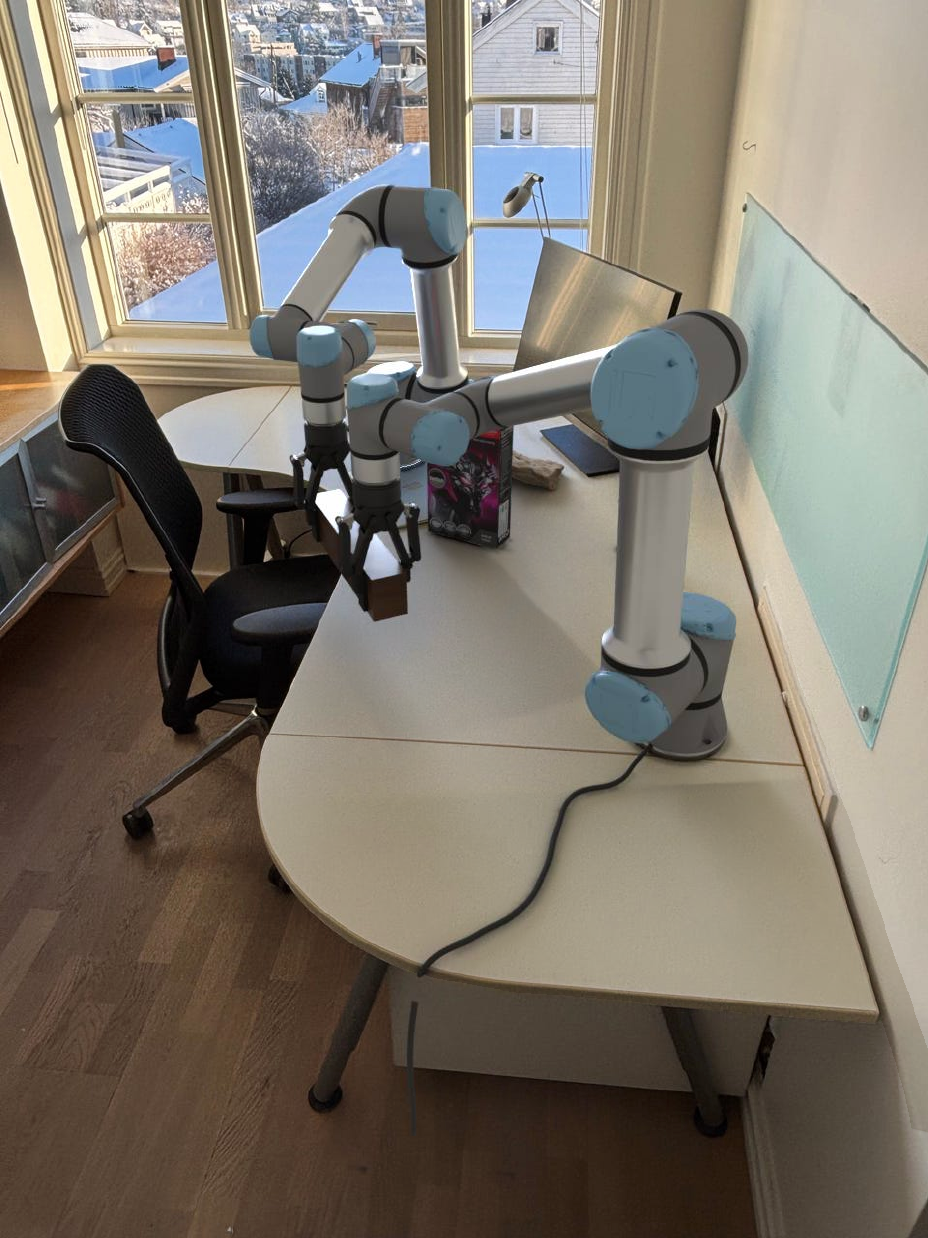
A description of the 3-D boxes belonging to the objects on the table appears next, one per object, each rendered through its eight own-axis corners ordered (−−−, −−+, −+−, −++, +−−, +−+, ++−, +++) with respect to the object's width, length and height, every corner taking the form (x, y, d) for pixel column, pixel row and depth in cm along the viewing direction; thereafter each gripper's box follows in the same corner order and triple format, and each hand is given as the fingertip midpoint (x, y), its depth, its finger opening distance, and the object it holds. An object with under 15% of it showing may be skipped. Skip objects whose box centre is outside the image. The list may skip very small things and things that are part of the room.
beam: (408, 614, 153) (406, 572, 148) (374, 622, 151) (371, 580, 146) (343, 526, 178) (340, 488, 174) (313, 532, 176) (309, 494, 172)
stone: (462, 471, 213) (468, 446, 211) (478, 460, 226) (484, 436, 224) (548, 498, 210) (555, 473, 207) (560, 485, 223) (567, 461, 221)
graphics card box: (425, 532, 195) (422, 409, 180) (440, 519, 200) (440, 398, 185) (497, 552, 189) (501, 426, 173) (511, 537, 194) (517, 414, 179)
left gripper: (368, 403, 167) (374, 517, 180) (265, 419, 161) (279, 536, 174) (383, 418, 162) (388, 533, 175) (277, 435, 155) (290, 554, 168)
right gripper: (424, 457, 148) (426, 580, 160) (309, 477, 141) (321, 604, 154) (442, 475, 142) (443, 601, 155) (323, 497, 135) (334, 627, 148)
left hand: (333, 534), depth 174 cm, fingers closed on beam, 6 cm apart
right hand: (382, 602), depth 154 cm, fingers closed on beam, 6 cm apart
